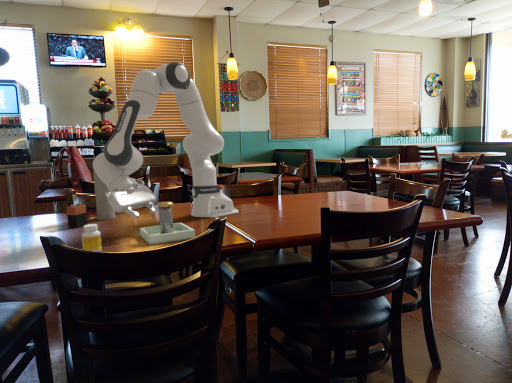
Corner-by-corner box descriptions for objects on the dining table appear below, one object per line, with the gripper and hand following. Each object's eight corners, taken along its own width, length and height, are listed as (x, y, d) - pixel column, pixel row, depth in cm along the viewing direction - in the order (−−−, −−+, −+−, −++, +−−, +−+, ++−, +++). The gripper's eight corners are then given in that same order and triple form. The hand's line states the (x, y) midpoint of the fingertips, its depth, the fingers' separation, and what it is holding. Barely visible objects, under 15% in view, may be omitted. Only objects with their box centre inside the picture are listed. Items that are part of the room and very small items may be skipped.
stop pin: (172, 232, 143) (170, 201, 141) (176, 235, 138) (174, 203, 136) (157, 234, 140) (155, 202, 138) (161, 237, 135) (159, 204, 134)
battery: (88, 225, 166) (86, 202, 164) (75, 228, 159) (73, 205, 158) (80, 224, 167) (78, 202, 166) (67, 228, 161) (65, 204, 160)
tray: (181, 229, 150) (181, 222, 149) (195, 238, 136) (194, 229, 135) (140, 235, 142) (139, 227, 142) (150, 245, 128) (149, 236, 128)
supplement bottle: (82, 255, 119) (79, 225, 118) (100, 251, 122) (97, 222, 121) (85, 259, 115) (82, 227, 113) (104, 255, 118) (101, 225, 116)
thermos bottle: (118, 216, 183) (114, 158, 179) (109, 220, 175) (104, 159, 172) (103, 216, 185) (98, 159, 181) (93, 220, 177) (88, 159, 173)
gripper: (106, 185, 134) (130, 214, 131) (145, 180, 152) (166, 204, 150) (98, 197, 136) (121, 226, 133) (137, 190, 155) (158, 215, 152)
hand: (145, 214), depth 142 cm, fingers open, 8 cm apart
